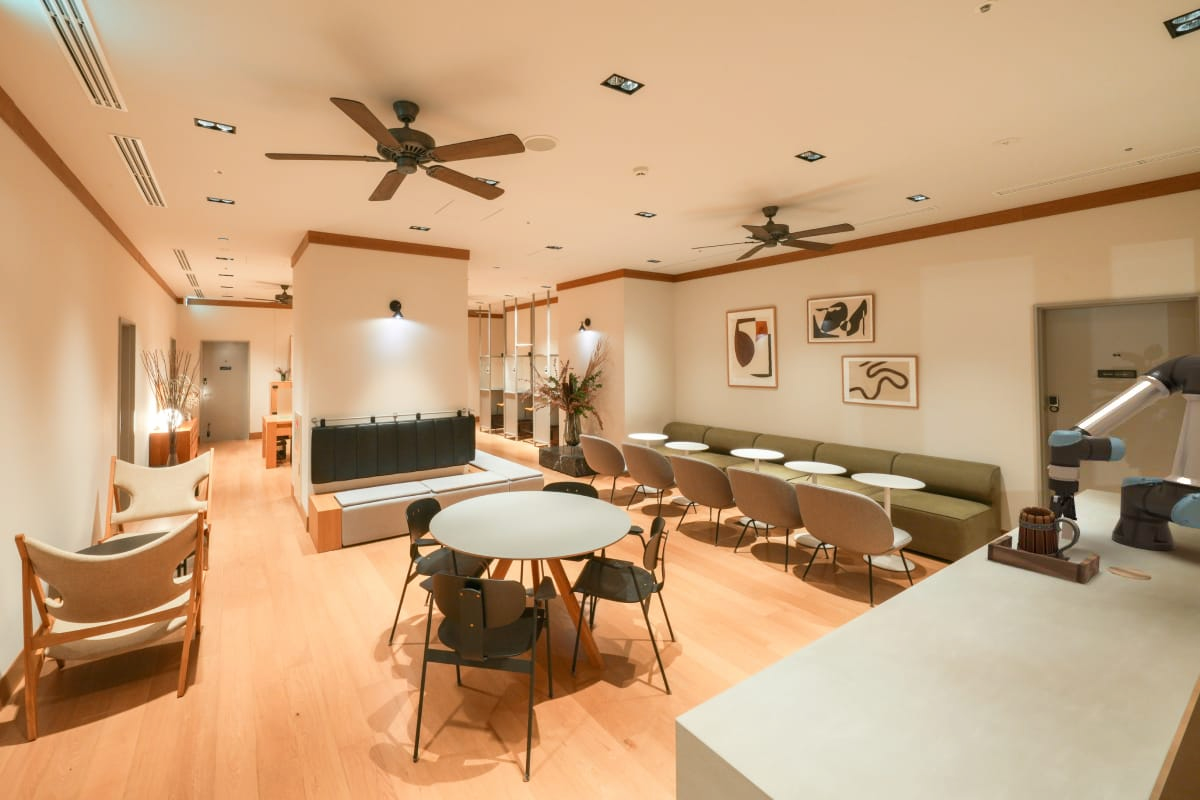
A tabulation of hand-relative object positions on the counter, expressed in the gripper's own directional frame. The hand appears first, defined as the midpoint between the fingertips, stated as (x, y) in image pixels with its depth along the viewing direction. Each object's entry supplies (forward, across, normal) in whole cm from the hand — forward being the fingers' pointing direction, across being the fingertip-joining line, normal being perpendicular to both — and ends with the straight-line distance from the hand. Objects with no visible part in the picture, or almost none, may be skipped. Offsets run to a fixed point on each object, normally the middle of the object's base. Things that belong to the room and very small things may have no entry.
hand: (1060, 543), depth 173 cm
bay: (+3, +17, 0) cm, 17 cm away
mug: (+3, +12, 0) cm, 12 cm away
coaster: (+4, +5, +17) cm, 18 cm away
